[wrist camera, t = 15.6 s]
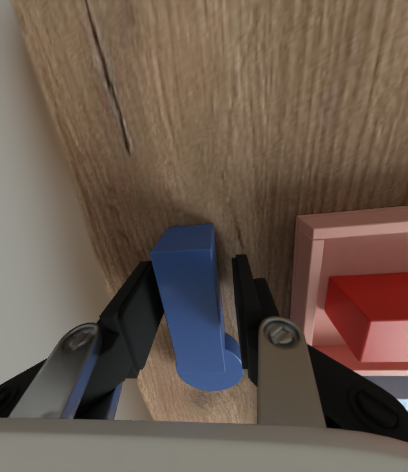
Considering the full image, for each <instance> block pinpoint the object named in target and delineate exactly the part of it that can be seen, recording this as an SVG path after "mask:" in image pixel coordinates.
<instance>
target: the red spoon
mask: <svg viewBox="0 0 408 472" xmlns="http://www.w3.org/2000/svg"><path fill="white" fill-rule="evenodd" d="M324 311H325V313H326V315H327V316H328V318H329V319H330V321H331V322H332V323H333V325H334V326H335V328H336V329H337V331H338V332H339V334H340V335H341V337H342V338H343V340H344V341H345V343H346V344H347V345H348V347H349V348H350V350H351V351H352V353H353V354H354V356H355V357H356V359H357V360H358V361H359V362H408V272H402V273H384V274H366V275H348V276H330V277H329V282H328V289H327V296H326V303H325V310H324Z"/></svg>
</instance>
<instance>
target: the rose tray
mask: <svg viewBox="0 0 408 472" xmlns="http://www.w3.org/2000/svg"><path fill="white" fill-rule="evenodd" d="M402 272H408V206H397V207H386V208H375V209H364V210H353V211H342V212H331V213H320V214H309V215H298V216H296V227H295V243H294V260H293V277H292V294H291V311H290V320H292V321H294V322H295V323H296V324H298V325H299V326H300V328H301V329H302V330H303V333H304V335H305V339H306V343H307V344H309V345H311V346H312V347H314V348H316V349H317V350H319V351H321V352H322V353H324V354H326V355H327V356H329V357H331V358H333V359H334V360H336V361H338V362H339V363H341V364H343V365H344V366H346V367H348V368H349V369H351V370H353V371H354V372H356V373H358V374H360V375H361V376H408V362H359V361H358V360H357V359H356V357H355V356H354V354H353V353H352V351H351V350H350V348H349V347H348V345H347V344H346V343H345V341H344V340H343V338H342V337H341V335H340V334H339V332H338V331H337V329H336V328H335V326H334V325H333V323H332V322H331V321H330V319H329V318H328V316H327V315H326V313H325V311H324V310H325V303H326V296H327V289H328V282H329V277H330V276H348V275H366V274H384V273H402Z"/></svg>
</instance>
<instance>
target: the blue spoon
mask: <svg viewBox="0 0 408 472" xmlns="http://www.w3.org/2000/svg"><path fill="white" fill-rule="evenodd" d="M150 257H151V261H152V265H153V269H154V273H155V277H156V281H157V285H158V289H159V293H160V297H161V301H162V305H163V309H164V313H165V317H166V321H167V325H168V329H169V333H170V337H171V341H172V345H173V349H174V353H175V357H176V370H177V373H178V375H179V376H180V378H181V379H182V380H183V381H184V382H186V383H187V384H189V385H191V386H193V387H195V388H198V389H201V390H207V391H219V390H224V389H228V388H230V387H232V386H234V385H235V384H237V383H238V382H239V381H240V379H241V378H242V376H243V372H244V369H242V362H241V353H240V346H239V344H238V343H237V342H236V341H235V340H234V339H233V338H232V337H231V336H229V335H227V334H225V333H224V318H223V309H222V299H221V290H220V281H219V271H218V262H217V252H216V243H215V233H214V224H213V223H210V224H199V225H188V226H177V227H168V229H167V230H166V231H165V233H164V234H163V236H162V237H161V238H160V240H159V241H158V242H157V244H156V245H155V247H154V248H153V249H152V251H151V252H150Z"/></svg>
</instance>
